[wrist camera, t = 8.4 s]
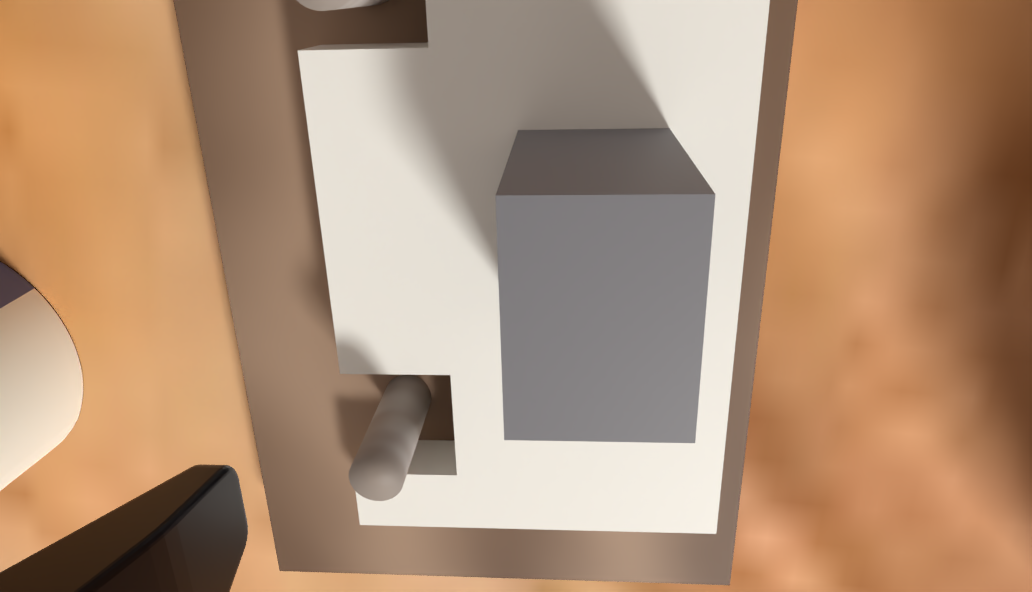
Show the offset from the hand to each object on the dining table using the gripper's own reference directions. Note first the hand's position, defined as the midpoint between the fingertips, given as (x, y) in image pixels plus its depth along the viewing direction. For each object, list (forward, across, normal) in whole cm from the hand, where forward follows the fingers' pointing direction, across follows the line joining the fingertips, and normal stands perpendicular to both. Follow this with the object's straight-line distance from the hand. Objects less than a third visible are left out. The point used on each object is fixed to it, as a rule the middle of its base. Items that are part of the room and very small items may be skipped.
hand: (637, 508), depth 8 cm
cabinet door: (+10, +2, -1) cm, 10 cm away
